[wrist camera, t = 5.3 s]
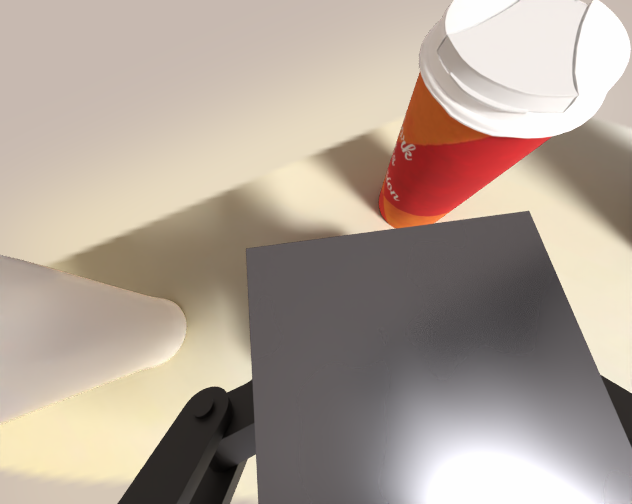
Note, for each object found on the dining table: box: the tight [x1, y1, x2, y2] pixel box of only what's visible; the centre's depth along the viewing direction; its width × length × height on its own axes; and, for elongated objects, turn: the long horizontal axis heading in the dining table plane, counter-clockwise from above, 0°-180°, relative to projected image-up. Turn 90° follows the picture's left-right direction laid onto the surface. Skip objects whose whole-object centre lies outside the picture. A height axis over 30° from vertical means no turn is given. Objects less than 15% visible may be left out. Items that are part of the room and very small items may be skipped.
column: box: [246, 211, 632, 504], centre depth 11 cm, size 5×5×16 cm
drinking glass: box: [0, 255, 187, 425], centre depth 12 cm, size 7×7×15 cm
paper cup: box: [379, 0, 631, 229], centre depth 16 cm, size 8×8×14 cm
